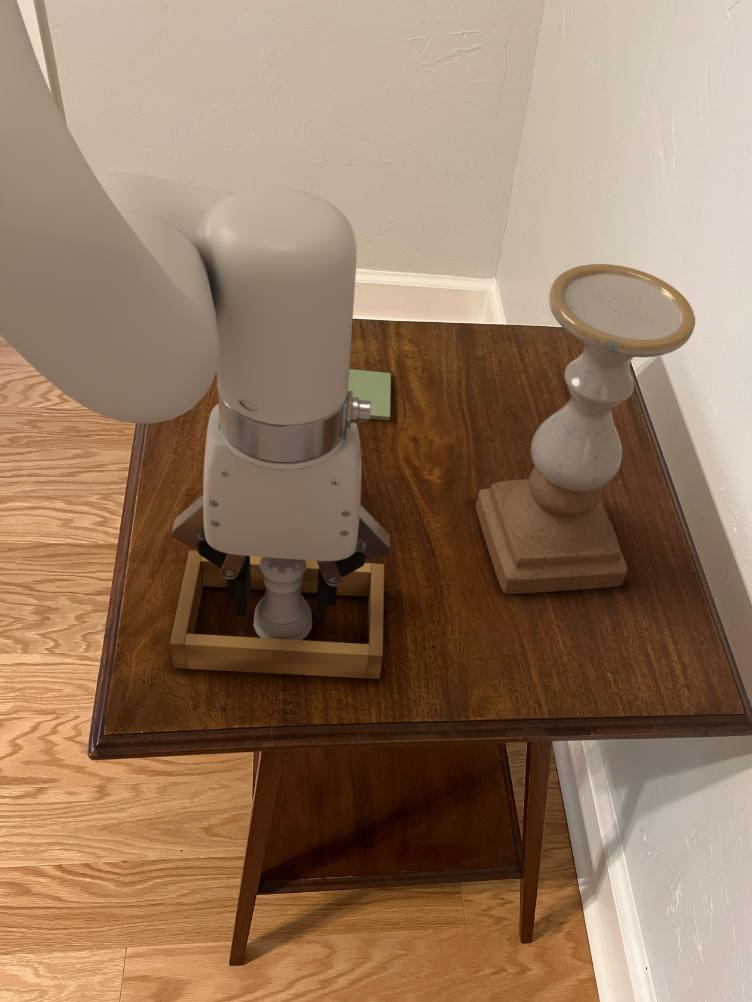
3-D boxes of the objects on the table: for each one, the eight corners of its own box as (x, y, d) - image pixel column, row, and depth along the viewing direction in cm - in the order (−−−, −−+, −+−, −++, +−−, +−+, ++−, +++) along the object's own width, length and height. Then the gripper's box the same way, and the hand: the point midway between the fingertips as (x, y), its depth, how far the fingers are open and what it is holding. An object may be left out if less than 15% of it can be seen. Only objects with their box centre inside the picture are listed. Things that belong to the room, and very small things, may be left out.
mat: (242, 407, 86) (242, 403, 86) (250, 363, 90) (250, 359, 90) (389, 420, 88) (390, 416, 87) (390, 376, 92) (391, 372, 92)
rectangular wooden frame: (173, 668, 66) (169, 643, 64) (191, 576, 72) (189, 550, 70) (379, 679, 68) (382, 655, 66) (381, 588, 74) (384, 563, 72)
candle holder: (624, 586, 78) (727, 349, 60) (502, 595, 75) (571, 350, 57) (586, 497, 85) (668, 260, 67) (473, 502, 82) (526, 257, 64)
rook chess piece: (250, 606, 71) (247, 535, 65) (308, 601, 72) (310, 530, 66) (256, 652, 68) (254, 582, 62) (316, 646, 69) (319, 576, 63)
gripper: (424, 385, 58) (396, 574, 72) (147, 359, 56) (174, 559, 69) (426, 464, 53) (396, 651, 67) (123, 438, 51) (156, 637, 64)
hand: (283, 602), depth 68 cm, fingers open, 5 cm apart
